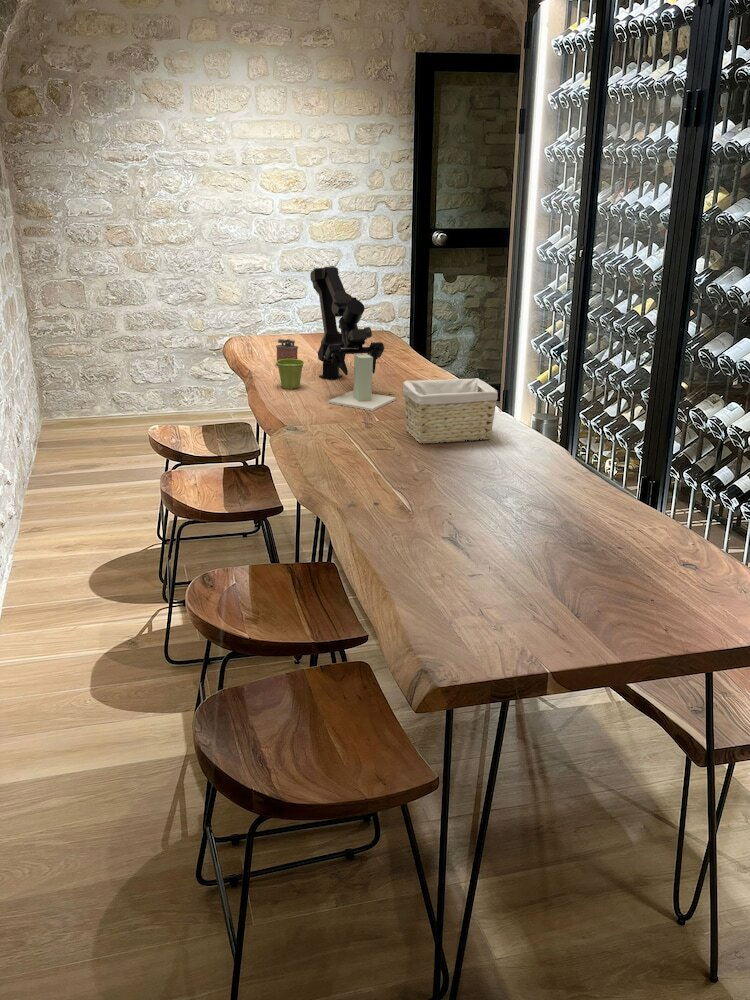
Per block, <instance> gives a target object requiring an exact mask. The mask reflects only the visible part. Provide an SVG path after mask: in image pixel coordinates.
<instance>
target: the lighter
mask: <svg viewBox="0 0 750 1000" xmlns="http://www.w3.org/2000/svg"><path fill="white" fill-rule="evenodd" d="M277 343H278V344H277V345H276V346H275V348H276V361H278V360H281V359H298V350H299V346H298V345H295V344H296V342H295V339H290V338H287V339H285V338H284V339H283V338H278V340H277ZM275 364H276V367H278V365H277V363H276V362H275Z"/></svg>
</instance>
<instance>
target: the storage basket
mask: <svg viewBox="0 0 750 1000" xmlns="http://www.w3.org/2000/svg"><path fill="white" fill-rule="evenodd" d="M402 386H403V388H402V389H403V390H402V393H403V396H404V409H405V413H404V414H405V428H406V432H408V434H410V436H413V438H415V439H414V440H416V442H417V441H418V443H419V444H422V443H423V444H425V443H431V444H435V443H436V444H440V443H443V442H447V443H451V442H452V443H453V442H454V443H455V442H468V441H467V440H469V441H474V440H475V441H482V439H483V440H490V439H491V438H492V433H493V426H494V418H495V411H496V407H497V400H498V398H499V397H498V393H499V392H498V390H497V389H496V388H495V387H492V386H491V385H490V384H488V383H487V382H485V381H484V380H482V379H480V378H477V377H476V378H453V379H452V378H451V379H431V380H430V379H427V380H423V379H422V380H405V381H403V382H402ZM479 439H480V440H479ZM465 440H466V441H465ZM439 442H440V443H439Z"/></svg>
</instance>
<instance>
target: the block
mask: <svg viewBox="0 0 750 1000" xmlns="http://www.w3.org/2000/svg"><path fill="white" fill-rule="evenodd" d="M353 355H354V359H353V360H354V361H353V390H354V393H353V398H354V399H356V400H357V401H370V400H372V394H373V376H374V374H373V357H372V356H370V355H368V353H363V354H353Z"/></svg>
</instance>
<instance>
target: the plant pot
mask: <svg viewBox="0 0 750 1000" xmlns="http://www.w3.org/2000/svg"><path fill="white" fill-rule="evenodd" d="M276 363H277V365H278V366H277V368H278V372H279V381H280V385H281V388H283V389H285V388H286V390H293V389H299V388H300V386H301V385H300V384H301V378H302V371H303V368H304V364H305V361H304V360H302V359H299V358H297V359H281V360H278V361H277V360H276V362H275V364H276Z"/></svg>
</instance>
